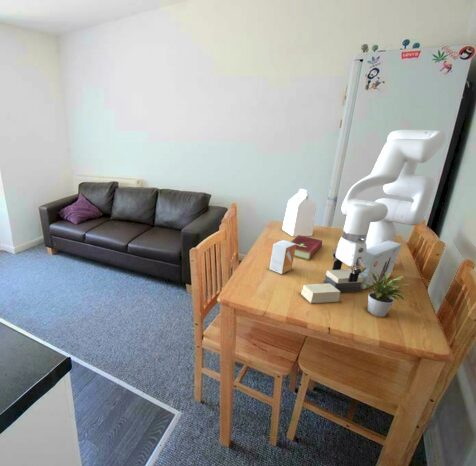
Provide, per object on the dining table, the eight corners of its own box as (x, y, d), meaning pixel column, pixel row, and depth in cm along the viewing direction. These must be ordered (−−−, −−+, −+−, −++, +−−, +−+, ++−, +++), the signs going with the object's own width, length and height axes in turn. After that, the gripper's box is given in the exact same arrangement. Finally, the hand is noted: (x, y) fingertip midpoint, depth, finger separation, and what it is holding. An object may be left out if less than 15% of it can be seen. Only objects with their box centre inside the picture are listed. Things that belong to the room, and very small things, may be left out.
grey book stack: (348, 283, 130) (350, 274, 128) (359, 291, 124) (362, 281, 122) (323, 284, 130) (325, 275, 128) (333, 292, 124) (335, 283, 122)
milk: (312, 235, 180) (320, 191, 170) (292, 236, 179) (300, 192, 170) (300, 228, 191) (307, 187, 182) (282, 229, 191) (288, 187, 181)
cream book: (349, 273, 129) (350, 269, 128) (361, 282, 122) (363, 277, 121) (325, 275, 128) (326, 270, 128) (337, 283, 122) (338, 278, 121)
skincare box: (364, 290, 124) (375, 254, 119) (350, 284, 129) (359, 249, 123) (392, 277, 133) (402, 243, 128) (377, 272, 138) (387, 239, 132)
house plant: (349, 316, 109) (360, 275, 104) (347, 297, 120) (357, 259, 114) (401, 329, 102) (416, 286, 96) (394, 307, 113) (407, 268, 107)
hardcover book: (321, 247, 164) (323, 239, 163) (309, 260, 151) (310, 252, 149) (297, 241, 172) (298, 234, 171) (283, 253, 159) (284, 246, 157)
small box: (281, 274, 139) (286, 248, 134) (268, 269, 144) (272, 243, 139) (291, 269, 143) (296, 243, 138) (279, 264, 148) (283, 239, 143)
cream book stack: (327, 292, 124) (330, 283, 122) (338, 301, 118) (341, 291, 116) (301, 294, 124) (302, 284, 122) (310, 303, 118) (312, 293, 116)
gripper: (382, 244, 111) (369, 286, 117) (347, 228, 127) (338, 265, 133) (361, 245, 110) (350, 287, 117) (329, 228, 126) (321, 266, 133)
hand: (344, 275), depth 125 cm, fingers open, 8 cm apart
